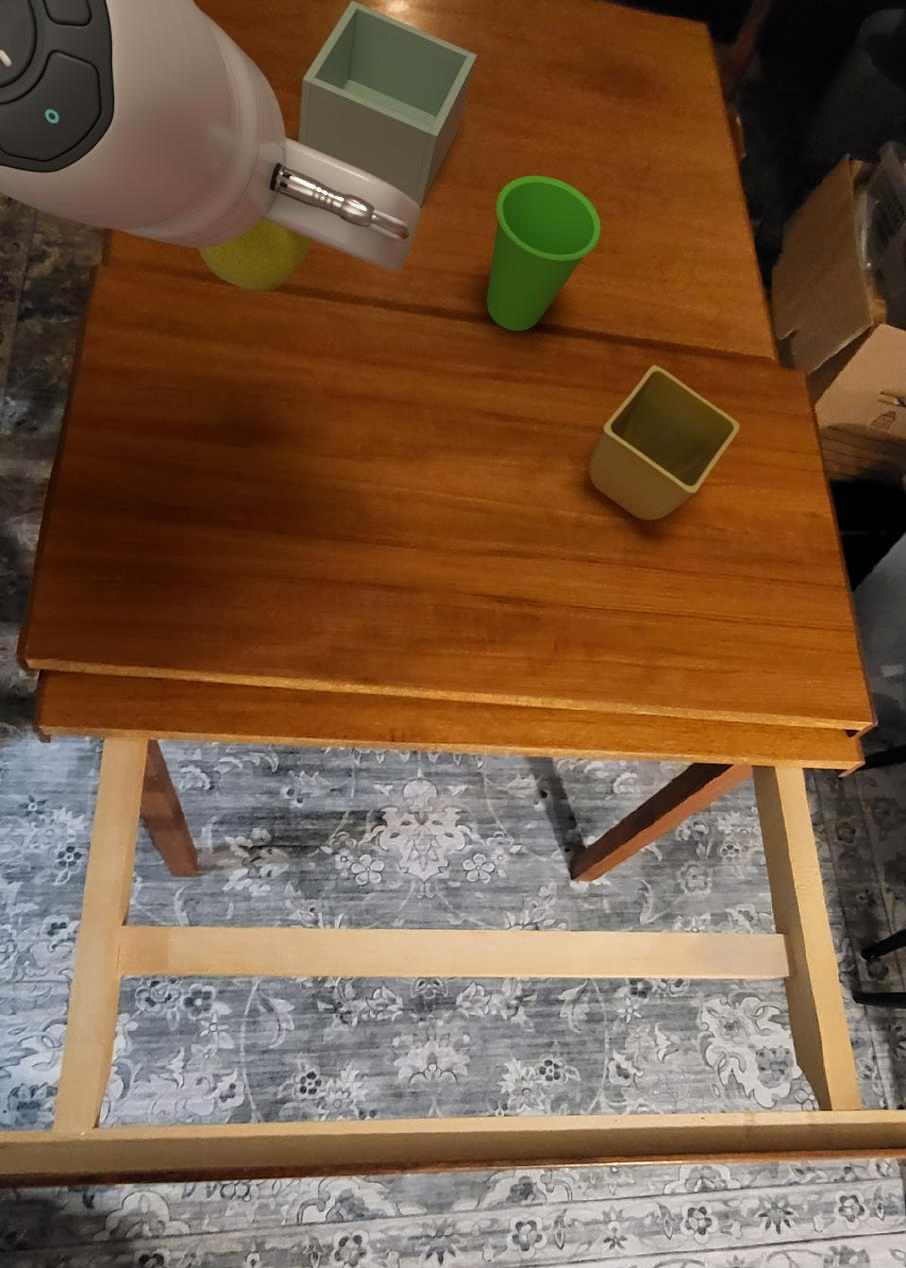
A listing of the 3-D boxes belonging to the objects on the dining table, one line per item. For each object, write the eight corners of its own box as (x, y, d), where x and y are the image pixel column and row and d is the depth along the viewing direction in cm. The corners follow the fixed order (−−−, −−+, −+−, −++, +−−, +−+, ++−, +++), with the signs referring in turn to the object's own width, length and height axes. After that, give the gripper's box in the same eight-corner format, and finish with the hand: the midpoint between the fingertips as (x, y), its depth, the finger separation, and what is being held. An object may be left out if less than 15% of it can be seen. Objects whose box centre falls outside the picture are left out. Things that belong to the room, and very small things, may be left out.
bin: (297, 155, 85) (302, 78, 78) (342, 78, 91) (351, -1, 84) (420, 207, 86) (437, 136, 79) (458, 128, 91) (477, 54, 84)
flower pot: (646, 549, 76) (694, 494, 68) (563, 489, 77) (602, 427, 69) (691, 484, 80) (743, 424, 72) (612, 427, 81) (654, 361, 73)
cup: (480, 352, 81) (515, 260, 71) (454, 274, 84) (483, 174, 74) (570, 345, 83) (615, 255, 73) (542, 270, 86) (581, 173, 76)
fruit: (240, 214, 59) (245, 35, 48) (327, 271, 59) (351, 104, 48) (173, 273, 56) (163, 96, 45) (264, 333, 56) (276, 170, 45)
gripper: (427, 154, 38) (446, 196, 52) (-35, -45, 37) (105, 51, 50) (377, 300, 41) (408, 305, 54) (-62, 117, 39) (80, 168, 52)
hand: (259, 181), depth 52 cm, fingers closed on fruit, 5 cm apart
